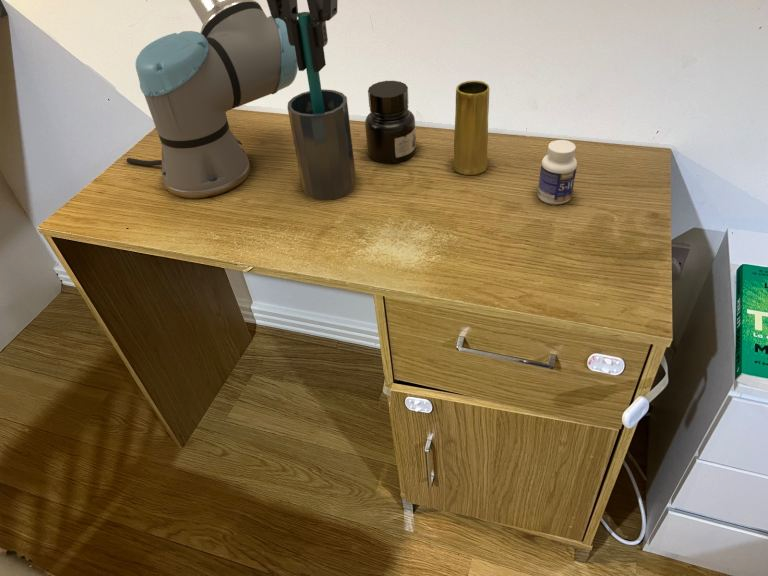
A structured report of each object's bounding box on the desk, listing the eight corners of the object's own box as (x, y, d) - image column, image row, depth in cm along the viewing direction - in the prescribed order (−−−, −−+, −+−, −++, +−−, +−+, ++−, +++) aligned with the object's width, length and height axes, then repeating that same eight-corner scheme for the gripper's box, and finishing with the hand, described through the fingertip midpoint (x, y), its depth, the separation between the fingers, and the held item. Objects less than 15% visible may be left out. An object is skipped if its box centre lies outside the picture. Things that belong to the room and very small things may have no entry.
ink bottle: (410, 166, 104) (407, 102, 96) (362, 164, 106) (355, 100, 98) (420, 140, 111) (418, 77, 103) (374, 137, 113) (369, 76, 105)
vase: (487, 157, 105) (491, 78, 95) (488, 175, 100) (493, 95, 91) (452, 157, 105) (453, 79, 96) (452, 176, 101) (453, 96, 91)
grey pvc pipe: (294, 196, 99) (277, 112, 89) (315, 168, 106) (302, 87, 96) (344, 203, 97) (333, 118, 87) (363, 174, 103) (355, 91, 93)
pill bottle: (560, 209, 92) (568, 158, 86) (531, 198, 94) (537, 148, 88) (577, 194, 94) (586, 144, 88) (548, 183, 97) (555, 134, 91)
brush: (310, 169, 98) (285, 18, 82) (320, 157, 101) (297, 8, 84) (333, 172, 97) (311, 19, 81) (342, 160, 99) (322, 9, 83)
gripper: (214, -117, 71) (256, 74, 87) (327, -120, 67) (349, 81, 83) (244, -128, 76) (278, 55, 92) (351, -131, 72) (367, 61, 88)
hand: (312, 67), depth 88 cm, fingers closed on brush, 2 cm apart
